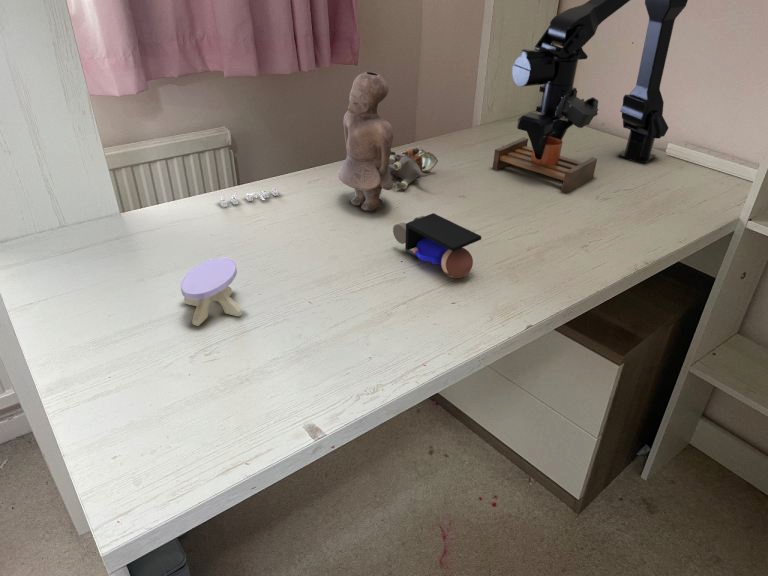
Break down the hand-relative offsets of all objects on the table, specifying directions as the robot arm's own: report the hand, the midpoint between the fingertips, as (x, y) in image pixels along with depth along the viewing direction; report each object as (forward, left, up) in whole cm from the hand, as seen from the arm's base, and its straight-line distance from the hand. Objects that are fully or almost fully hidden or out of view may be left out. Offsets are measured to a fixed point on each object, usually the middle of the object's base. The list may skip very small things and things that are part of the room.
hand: (545, 155), depth 133 cm
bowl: (0, 0, -1) cm, 1 cm away
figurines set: (+55, -32, -4) cm, 64 cm away
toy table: (+81, -7, -4) cm, 81 cm away
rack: (0, 0, -4) cm, 4 cm away
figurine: (+23, -21, -4) cm, 31 cm away
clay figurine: (+40, -16, -4) cm, 43 cm away
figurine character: (+48, +7, -4) cm, 49 cm away
